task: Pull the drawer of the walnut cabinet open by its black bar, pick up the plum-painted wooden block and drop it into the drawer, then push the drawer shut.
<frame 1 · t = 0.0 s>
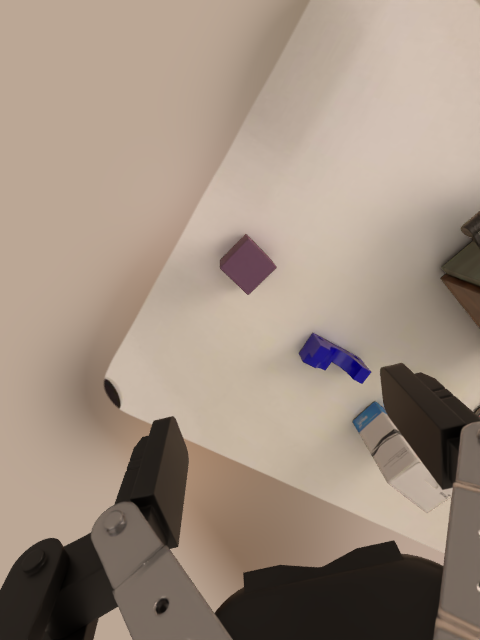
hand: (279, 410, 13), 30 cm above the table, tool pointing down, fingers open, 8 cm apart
block: (245, 260, 41), on the table
cable holder: (328, 354, 47), on the table
ink box: (380, 424, 51), on the table
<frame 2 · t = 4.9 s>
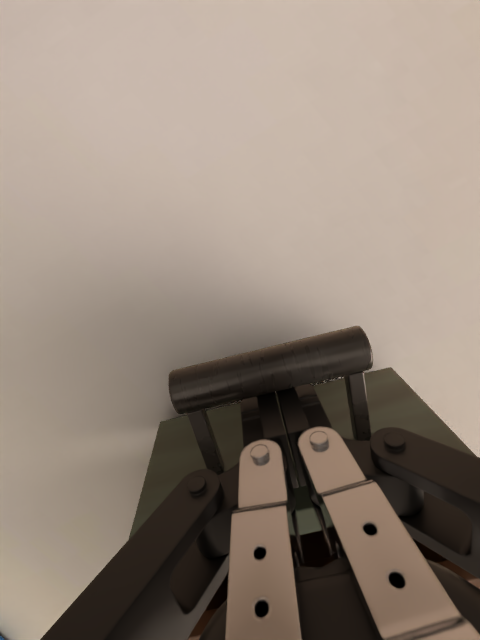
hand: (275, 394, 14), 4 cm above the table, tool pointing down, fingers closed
cabinet: (304, 519, 22), on the table
drawer: (300, 502, 16), point 4 cm above the table, slide at 2.7 cm, touching gripper
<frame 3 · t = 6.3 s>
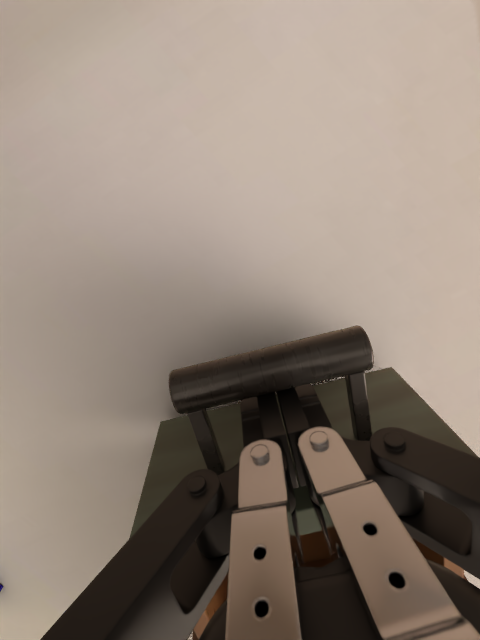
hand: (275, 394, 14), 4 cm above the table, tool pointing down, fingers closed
drawer: (301, 502, 16), point 4 cm above the table, slide at 8.0 cm
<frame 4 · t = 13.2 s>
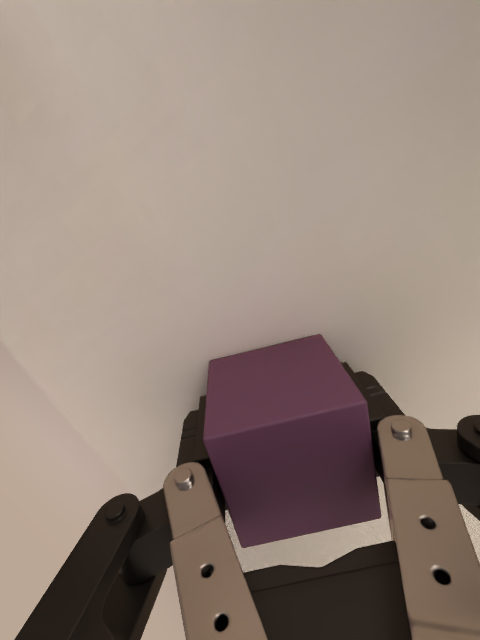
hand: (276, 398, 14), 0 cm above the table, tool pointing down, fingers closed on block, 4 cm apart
block: (275, 394, 14), on the table, touching gripper
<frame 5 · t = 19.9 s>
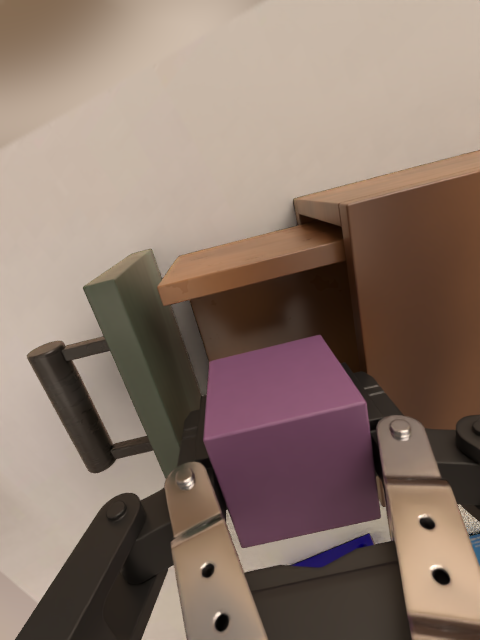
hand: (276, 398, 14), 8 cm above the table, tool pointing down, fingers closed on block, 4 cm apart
cabinet: (420, 284, 21), on the table
block: (275, 394, 14), point 8 cm above the table, touching gripper
cable holder: (333, 560, 30), on the table
drawer: (228, 364, 17), point 4 cm above the table, slide at 8.2 cm
when the fingers open (8 cm above the table, at t = 23.0 s): block drops 4 cm, point 4 cm above the table.
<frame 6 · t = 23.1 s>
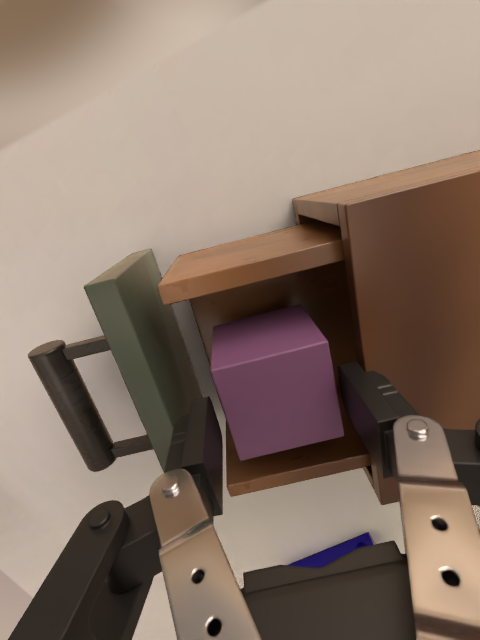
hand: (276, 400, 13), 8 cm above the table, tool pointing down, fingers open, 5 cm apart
cabinet: (419, 284, 21), on the table
block: (266, 354, 17), point 4 cm above the table
cable holder: (332, 558, 30), on the table
drawer: (227, 363, 17), point 4 cm above the table, slide at 8.2 cm
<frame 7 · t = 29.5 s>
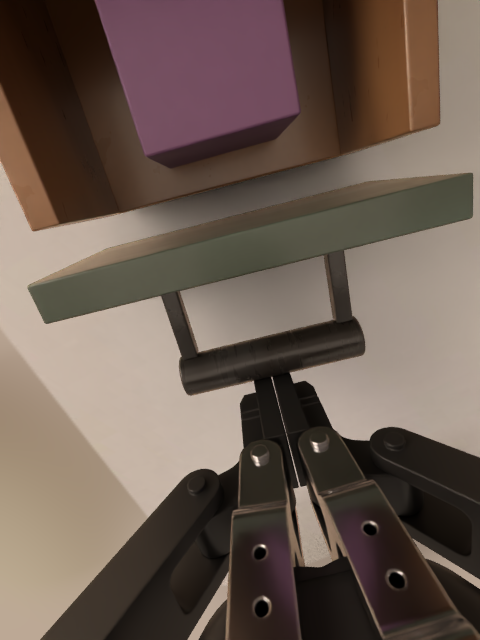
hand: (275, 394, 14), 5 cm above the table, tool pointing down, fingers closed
block: (207, 89, 13), point 2 cm above the table, touching drawer
drawer: (219, 141, 11), point 4 cm above the table, slide at 7.5 cm, touching block, gripper
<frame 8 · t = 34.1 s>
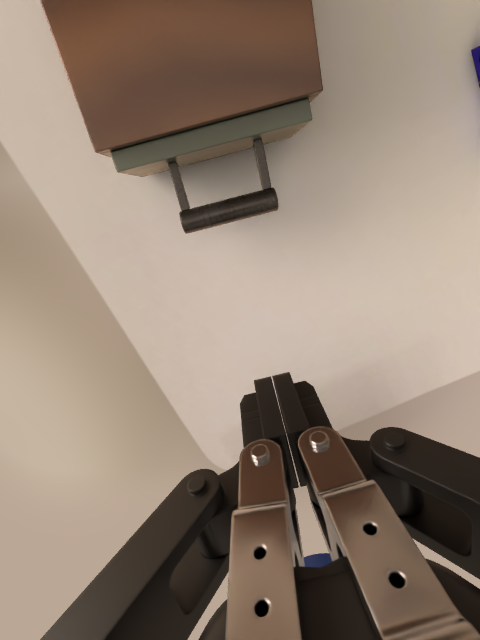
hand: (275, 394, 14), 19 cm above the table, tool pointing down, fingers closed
cabinet: (187, 42, 25), on the table
drawer: (199, 90, 22), point 4 cm above the table, slide at 0.0 cm, touching block, cabinet
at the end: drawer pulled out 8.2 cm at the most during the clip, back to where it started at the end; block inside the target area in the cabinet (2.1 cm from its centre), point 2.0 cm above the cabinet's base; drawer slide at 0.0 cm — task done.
